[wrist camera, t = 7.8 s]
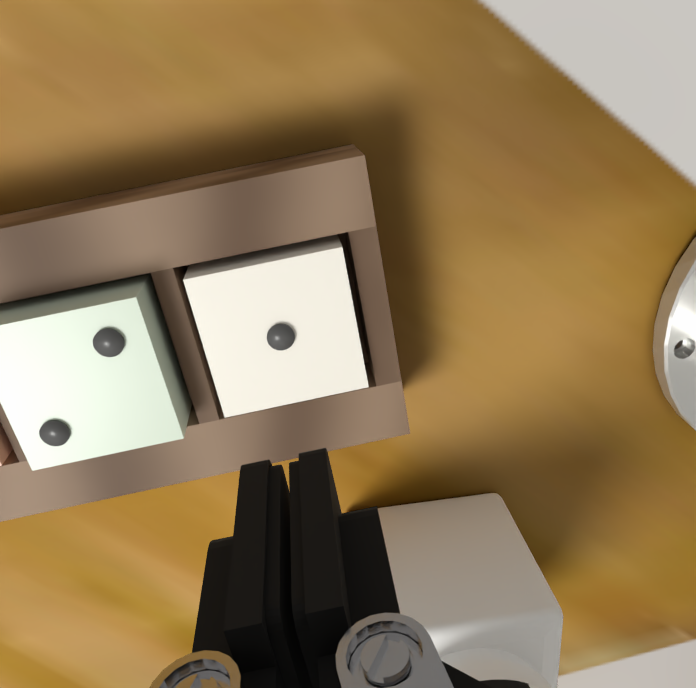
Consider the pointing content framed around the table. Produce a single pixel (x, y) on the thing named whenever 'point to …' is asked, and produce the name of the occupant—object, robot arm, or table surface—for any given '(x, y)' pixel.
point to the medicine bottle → (475, 589)
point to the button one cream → (277, 325)
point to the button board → (167, 274)
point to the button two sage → (90, 372)
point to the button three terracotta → (4, 445)
